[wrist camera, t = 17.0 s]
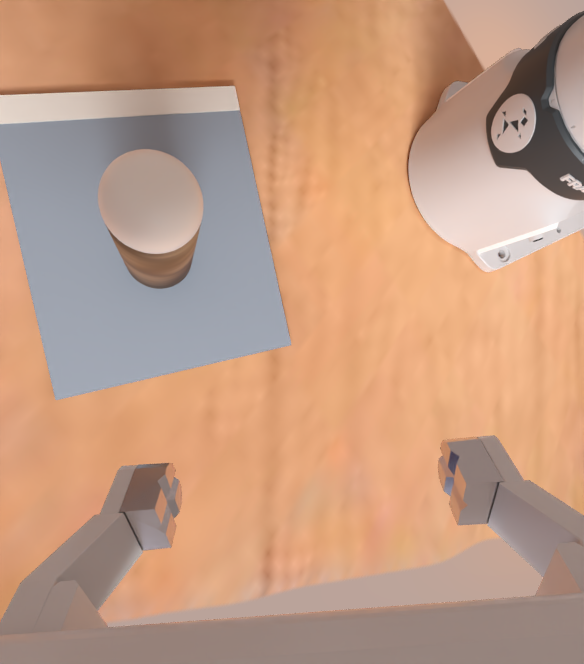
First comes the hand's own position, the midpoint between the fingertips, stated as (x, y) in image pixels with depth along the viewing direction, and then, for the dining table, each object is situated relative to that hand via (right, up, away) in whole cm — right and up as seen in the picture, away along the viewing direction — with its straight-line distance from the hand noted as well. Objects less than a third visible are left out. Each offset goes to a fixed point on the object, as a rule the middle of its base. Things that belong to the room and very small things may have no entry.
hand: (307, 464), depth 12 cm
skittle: (-11, +10, +19) cm, 24 cm away
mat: (-11, +12, +20) cm, 26 cm away
